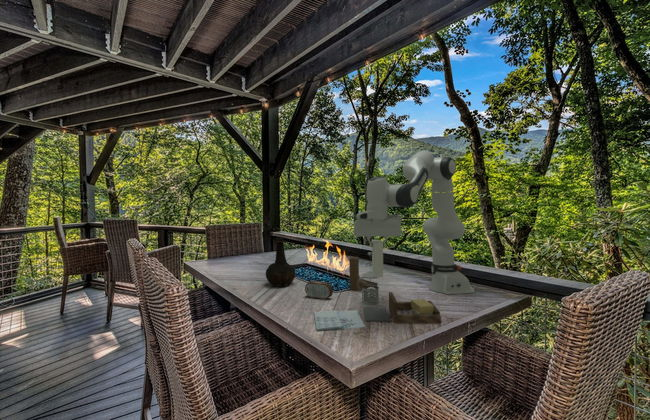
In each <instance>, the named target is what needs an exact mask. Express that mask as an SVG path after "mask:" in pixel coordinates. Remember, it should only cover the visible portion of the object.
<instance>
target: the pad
mask: <svg viewBox="0 0 650 420" xmlns="http://www.w3.org/2000/svg"><path fill="white" fill-rule="evenodd" d="M363 314H364V315H363V316H364V320H365V322H367V323H368V322H371V323H372V322H375V323H377V322H378V323H379V322H382V323H383V322H384V323H385V322H387V323H389V322H391V319H390V316H389V313H388V311H387V308H386V307H385V308H382V307H381V308H380V307H373V308H370V307H363Z"/></svg>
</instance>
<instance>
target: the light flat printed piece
mask: <svg viewBox="0 0 650 420" xmlns="http://www.w3.org/2000/svg"><path fill="white" fill-rule="evenodd" d="M313 314H314V315H313V316H314V321H315V328H316V331H317V332H321V331H331V330H334V331H335V330H350V329H351V330H352V329H364V328H366V325H365V324H364V321H363V320H362V318H361V316H360V312H359V310H358V309H355V310H354V309H352V310H342V311H340V310H339V311H338V310H336V309H334V310H324V311H323V310H321V311H320V310H319V311H313Z"/></svg>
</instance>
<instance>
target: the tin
mask: <svg viewBox="0 0 650 420" xmlns="http://www.w3.org/2000/svg"><path fill="white" fill-rule="evenodd" d="M304 291H305V293H306V296H307V297H309V298H313V299H320V300H328V299H329V298H331V297H332V296H333V293H334V290H333V287H332V285H331V284H330V283H328V282H327V281H318V280H310V281H309V282H307V283H306V285H305V286H304Z"/></svg>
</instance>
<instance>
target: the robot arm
mask: <svg viewBox="0 0 650 420" xmlns="http://www.w3.org/2000/svg"><path fill="white" fill-rule="evenodd" d="M456 170H457V163H456V161H455V160H454V158H453V157H450V156H443V157H441V156H439V157H434V155H433V153H431V151H429V150H428V149H427V150H424V149H423V150H420V151H418V152H415V154H413V155H412V156H411V157H410V158H409V159H407V160H406V162H405V163H404V165H402V172H403V173H402V174H403V175H404V177H405V178H406V180H407V181H409V182H408V183H403V184H401V183H399V184H391V183H389V182H388V181H387V178H386V177H385V176H374V177H371V178H369V179H368V180H367V185H366V201H367V204H366V210H365V211H362V212H359V213H357V214H356V215H355V216H356V217H355V218H356V219H355V221H354V223H353V224H354V225H353V236H354V237H356V238H357V237H360V238H361V237H366V239H367V241H368V242H369V247H370V248H372V247H373V243H372V239H371V238H372V237H383V241H382V243H383V248H386V242H387V241H388V237H401V236H402V222H403V218H402V216H401V215H399V214H389V213H388V208H389V207H395V208H397V207H399V208H406V209H407V208H408V209H409V208H412V207H413V206H414V205H416V203H417V201H418V199H419V195H420V193H421V191H422V190H423V188H424V187H425V185H426V184H427V182H428V181H427V180H430V181H431V180H432V181H431V207H432V209H433V210H434V211H435V213H436V217H431V218H426V220H425V221H424V222H423V226H422V228H423V231H424V233H425V234H426V235H427V237H428V239H429V242H430V246H431V251H432V254H431V255H432V262H431V281H430V286H429V290H431V291H433V292H436V293H442V294H445V295H462V294H463V295H464V294H474V293H476V292H475V289H474V287H472V286H471V284H470V283H471V282H470V280H469V279H468V277H466V276H465V275H464V274H463V273H461V272H460V271H461V270H462V266H460V265H457V264H456V263H455V250H454V248H453V246H452V245H451V244H450V242H449V240H458V239H461V238H462V237H463V236H464V234H465V232H466V228H465V224H464V223H463V222H462V220H461V219H459V217H458V215H457V212H456V209H455V203H454V202H455V201H454V199H455V198H454V184H453V176H454V175H455V173H456Z"/></svg>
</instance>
